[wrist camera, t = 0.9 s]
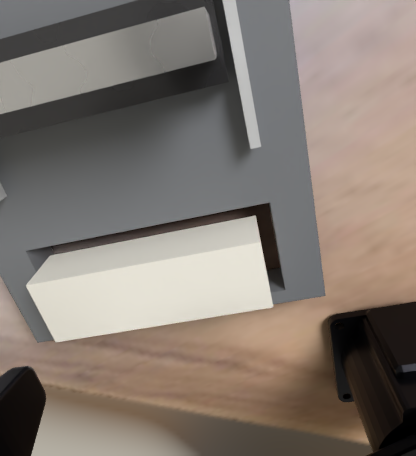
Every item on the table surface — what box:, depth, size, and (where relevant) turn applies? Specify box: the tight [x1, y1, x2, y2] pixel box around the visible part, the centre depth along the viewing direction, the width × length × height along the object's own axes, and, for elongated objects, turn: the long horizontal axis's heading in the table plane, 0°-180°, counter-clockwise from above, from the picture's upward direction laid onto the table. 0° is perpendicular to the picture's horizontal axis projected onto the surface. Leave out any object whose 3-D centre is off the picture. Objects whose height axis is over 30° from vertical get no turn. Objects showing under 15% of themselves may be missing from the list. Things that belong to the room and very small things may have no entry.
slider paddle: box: [0, 0, 229, 138], centre depth 12 cm, size 3×10×4 cm, turn 103°
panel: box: [0, 0, 325, 342], centre depth 14 cm, size 26×15×3 cm, turn 13°
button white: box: [26, 216, 273, 342], centre depth 17 cm, size 3×10×2 cm, turn 103°
